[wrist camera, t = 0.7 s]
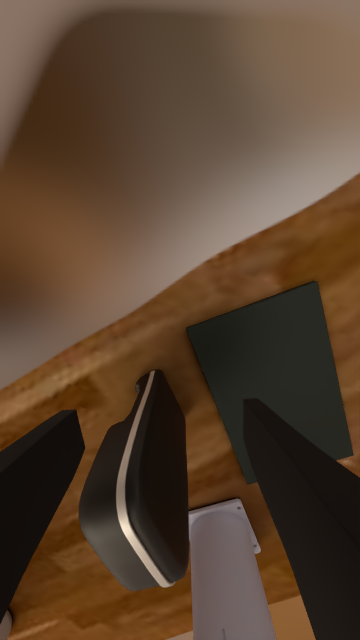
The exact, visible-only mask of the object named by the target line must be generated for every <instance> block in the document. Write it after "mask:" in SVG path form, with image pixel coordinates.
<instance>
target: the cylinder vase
mask: <svg viewBox="0 0 360 640" xmlns="http://www.w3.org/2000/svg"><path fill="white" fill-rule="evenodd" d="M11 628H12V618H11V615H10V613H9V611H8V610H7V611H6V613H5V616H4V618H3V620H2V622H1V625H0V640H7V638H8V636H9V634H10V631H11Z"/></svg>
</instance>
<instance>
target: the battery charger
mask: <svg viewBox="0 0 360 640" xmlns="http://www.w3.org/2000/svg"><path fill="white" fill-rule="evenodd" d="M135 388H136V391H137V394H138V397H137V399H136V401H135V403H134V406H133V408H132V411H131V413H130V414H129V415H128V416H127V418H126V419H125V420H124V421H122V422H119V423H117V424H115V425H113V426H111V427H110V428H109V429H108V431H107V433H106V435H105V437H104V439H103V442H102V444H101V446H100V448H99V450H98V453H97V455H96V457H95V460H94V462H93V464H92V467H91V469H90V472H89V474H88V477H87V479H86V482H85V485H84V488H83V490H82V493H81V497H80V502H79V520H80V525H81V529H82V532H83V534H84V536H85V538H86V540H87V541H88V542H89V544H90V545H91V547H92V548H93V549H94V551H95V552H96V554H97V555H98V557H99V558H100V559H101V561H102V562H103V564H104V565H105V566H106V567H107V568H108V570H109V571H110V572H111V573H112V574H113V575H114V577H115V578H116V579H117V580H118V581H119V583H120V584H122V585H123V586H124V587H125V588H127V589H128V590H130V591H139V590H143V589H147V588H151V587H155V586H159V585H160V586H162V587H169V586H173V585H174V584H175V582H176V581H177V580H179V579H181V578H183V577H184V575H185V573H186V570H187V567H188V560H189V508H188V478H187V455H186V424H185V417H184V415H183V413H182V411H181V409H180V407H179V405H178V403H177V400H176V398H175V396H174V394H173V392H172V390H171V388H170V386H169V384H168V382H167V380H166V378H165V376H164V374H163V372H162V371H161V370H157V371H155V370H154V371H151V373H149V374H146V375H144V376H143V377H141V378H140V379H139V380H138V381H137V383H136V387H135Z"/></svg>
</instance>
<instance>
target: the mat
mask: <svg viewBox="0 0 360 640" xmlns="http://www.w3.org/2000/svg"><path fill="white" fill-rule="evenodd" d="M186 330H187V332H188V335H189V337H190V340H191V342H192V345H193V347H194V350H195V353H196V355H197V358H198V360H199V363H200V365H201V368H202V370H203V373H204V375H205V378H206V380H207V383H208V385H209V388H210V391H211V393H212V396H213V398H214V401H215V403H216V406H217V408H218V411H219V413H220V416H221V418H222V421H223V423H224V426H225V429H226V431H227V434H228V436H229V439H230V441H231V444H232V446H233V449H234V451H235V454H236V456H237V459H238V461H239V464H240V467H241V469H242V472H243V474H244V477H245V479H246V482H247V484H252V483H255V482H257V479H256V477H255V474H254V472H253V469H252V467H251V464H250V460H249V457H248V454H247V450H246V447H245V443H244V440H243V399H252V398H258V399H260V400H261V401H262V402H263V403H264V404H265V405H267V406H268V407H269V408H270V409H271V410H273V411H274V412H275V413H276V414H277V415H278V416H280V417H281V418H282V419H283V420H284V421H286V422H287V423H288V424H289V425H290V426H292V427H293V428H294V429H295V430H297V431H298V432H299V433H300V434H301V435H303V436H304V437H305V438H307V439H308V440H309V441H310V442H312V443H313V444H314V445H316V446H317V447H318V448H319V449H321V450H322V451H323V452H325V453H326V454H327V455H329V456H330V457H332V458H333V459H334V460H338V459H342V458H346V457H349V456H353V450H352V445H351V440H350V435H349V431H348V426H347V421H346V416H345V412H344V407H343V402H342V397H341V392H340V388H339V383H338V378H337V373H336V368H335V364H334V359H333V354H332V349H331V344H330V340H329V335H328V330H327V325H326V321H325V316H324V311H323V306H322V301H321V297H320V292H319V287H318V282H317V281H312V282H309V283H307V284H304V285H301V286H299V287H296V288H293V289H290V290H288V291H285V292H282V293H280V294H277V295H274V296H271V297H269V298H266V299H263V300H261V301H258V302H255V303H252V304H250V305H247V306H244V307H242V308H239V309H236V310H233V311H231V312H228V313H225V314H223V315H220V316H217V317H214V318H212V319H209V320H206V321H204V322H201V323H198V324H195V325H193V326H190V327H187V328H186Z"/></svg>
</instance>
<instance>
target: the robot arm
mask: <svg viewBox="0 0 360 640" xmlns="http://www.w3.org/2000/svg"><path fill="white" fill-rule="evenodd" d="M243 440H244V443H245V447H246V450H247V454H248V457H249V460H250V464H251V467H252V469H253V472H254V474H255V477H256V479H257V482H258V484H259V487H260V489H261V492H262V494H263V497H264V499H265V502H266V504H267V507H268V509H269V511H270V514H271V516H272V519H273V521H274V524H275V526H276V529H277V531H278V534H279V536H280V538H281V541H282V543H283V546H284V548H285V551H286V554H287V556H288V559H289V562H290V564H291V567H292V570H293V573H294V576H295V579H296V582H297V585H298V588H299V591H300V594H301V597H302V600H303V603H304V605H305V608H306V611H307V614H308V617H309V620H310V623H311V626H312V629H313V632H314V635H315V639H316V640H360V478H359V477H358V476H357V475H355V474H354V473H352V472H351V471H349V470H348V469H347V468H345V467H344V466H342V465H341V464H340V463H338V462H337V461H336V460H334V459H333V458H332V457H330V456H329V455H327V454H326V453H325V452H323V451H322V450H321V449H319V448H318V447H317V446H316V445H314V444H313V443H312V442H310V441H309V440H308V439H307V438H305V437H304V436H303V435H301V434H300V433H299V432H298V431H297V430H295V429H294V428H293V427H292V426H290V425H289V424H288V423H287V422H286V421H284V420H283V419H282V418H281V417H280V416H278V415H277V414H276V413H275V412H274V411H273V410H271V409H270V408H269V407H268V406H267V405H265V404H264V403H263V402H262V401H261V400H260V399H258V398H252V399H243ZM84 450H85V444H84V440H83V436H82V432H81V428H80V424H79V420H78V416H77V412H76V410H62V411H60V412H59V413H57V414H55V415H54V416H52V417H51V418H49V419H48V420H46V421H45V422H43V423H42V424H40V425H39V426H37V427H36V428H34V429H33V430H31V431H30V432H29V433H27V434H26V435H24V436H23V437H21V438H20V439H18V440H17V441H15V442H14V443H12V444H11V445H10V446H8V447H7V448H5V449H4V450H2V451H1V452H0V625H1V622H2V620H3V618H4V616H5V613H6V611H7V609H8V607H9V605H10V602H11V600H12V598H13V596H14V593H15V591H16V589H17V587H18V585H19V582H20V580H21V578H22V576H23V574H24V572H25V570H26V568H27V566H28V564H29V562H30V560H31V558H32V556H33V554H34V552H35V550H36V548H37V546H38V544H39V543H40V541H41V539H42V537H43V535H44V533H45V531H46V529H47V527H48V525H49V524H50V522H51V520H52V518H53V516H54V514H55V512H56V510H57V508H58V506H59V505H60V503H61V501H62V499H63V497H64V495H65V493H66V491H67V489H68V487H69V485H70V483H71V481H72V479H73V477H74V475H75V473H76V470H77V468H78V466H79V463H80V461H81V458H82V455H83V453H84ZM189 541H190V550H191V580H192V610H193V640H277V638H276V634H275V631H274V627H273V623H272V619H271V615H270V611H269V608H268V604H267V600H266V596H265V592H264V588H263V585H262V581H261V577H260V573H259V569H258V566H257V562H256V558H255V554H256V553H259V552H260V551H261V549H260V546H259V543H258V541H257V539H256V536H255V534H254V531H253V529H252V527H251V524H250V522H249V519H248V517H247V515H246V512H245V510H244V507H243V505H242V503H241V500H240V499H233V500H229V501H226V502H222V503H218V504H215V505H211V506H207V507H203V508H200V509H196V510H192V511H189Z"/></svg>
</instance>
